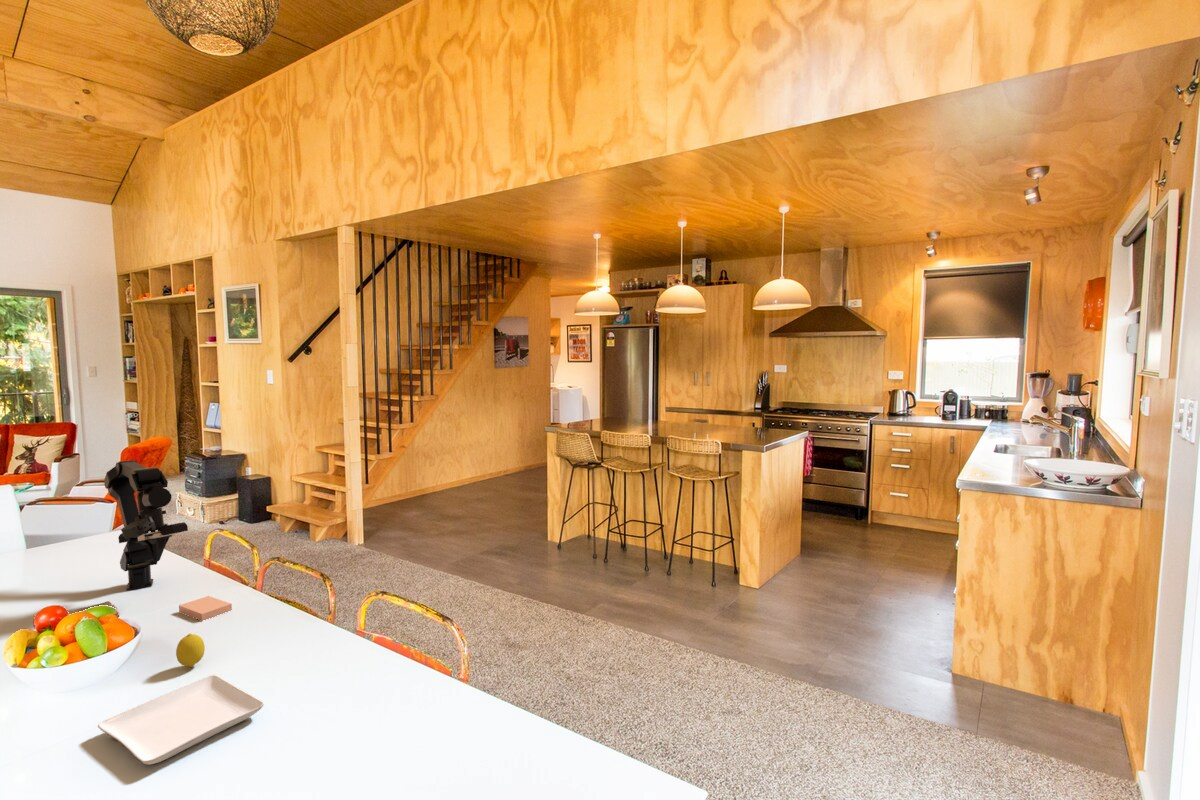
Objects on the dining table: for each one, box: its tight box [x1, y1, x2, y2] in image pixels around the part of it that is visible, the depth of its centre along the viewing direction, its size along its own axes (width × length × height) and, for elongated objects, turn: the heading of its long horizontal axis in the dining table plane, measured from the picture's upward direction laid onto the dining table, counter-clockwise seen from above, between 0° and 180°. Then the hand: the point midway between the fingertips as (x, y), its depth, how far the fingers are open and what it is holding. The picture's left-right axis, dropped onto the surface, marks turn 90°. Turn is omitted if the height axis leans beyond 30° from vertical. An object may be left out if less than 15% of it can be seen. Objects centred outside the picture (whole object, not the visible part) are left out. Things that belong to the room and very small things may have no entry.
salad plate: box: [97, 674, 265, 765], centre depth 119 cm, size 21×21×3 cm
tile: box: [178, 595, 233, 622], centre depth 173 cm, size 2×8×12 cm
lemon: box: [175, 633, 206, 668], centre depth 142 cm, size 6×6×8 cm
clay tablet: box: [67, 600, 118, 614], centre depth 171 cm, size 14×10×3 cm
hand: (156, 561), depth 182 cm, fingers closed
